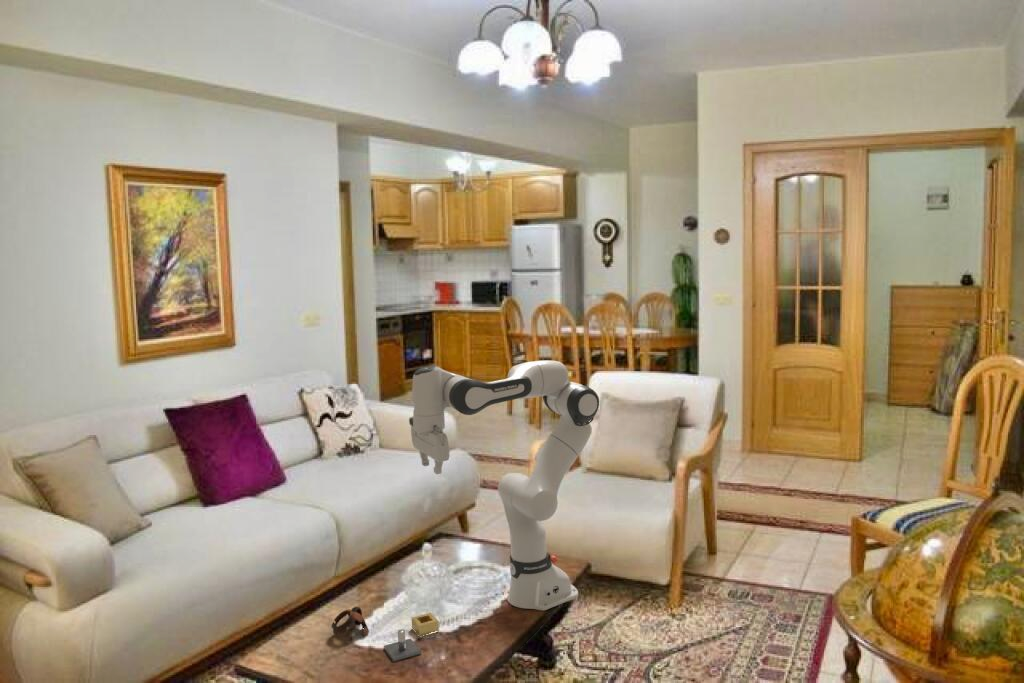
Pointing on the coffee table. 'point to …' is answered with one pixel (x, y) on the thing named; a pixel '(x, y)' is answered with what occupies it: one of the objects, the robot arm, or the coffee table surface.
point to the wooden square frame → (425, 624)
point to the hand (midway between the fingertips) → (431, 469)
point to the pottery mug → (349, 621)
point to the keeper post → (402, 648)
